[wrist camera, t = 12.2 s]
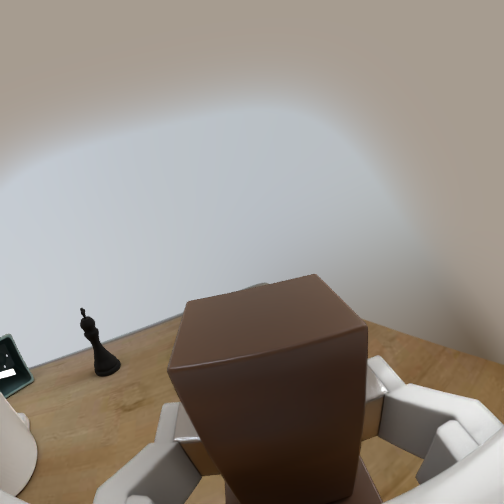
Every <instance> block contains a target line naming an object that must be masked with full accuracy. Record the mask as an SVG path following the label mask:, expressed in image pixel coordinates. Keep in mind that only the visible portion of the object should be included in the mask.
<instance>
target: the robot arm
mask: <svg viewBox="0 0 504 504" xmlns="http://www.w3.org/2000/svg"><path fill="white" fill-rule="evenodd" d="M11 375H15V372H14V370H13V369H10V370H7V371H3V372H0V378H3V377H7V376H11ZM29 428H30V422H29V419H28V418H27V416H26V415H25V414H24V413H16V412H15V411H14V409H13V408H12V407H11V405H10V404H9V403H8V402H7V400H6V399H5V397H4V396H3V395H2V393H1V392H0V504H29V503H27V502H25V501H22V500H20V499H18V498H16V497H15V496H16V495H17V494H18V493H19V492H20V491H21V490H22V489H23V488H24V487H25V485H26V484H27V483H28V481H29V479H30V478H31V476H32V474H33V471H34V468H35V465H36V461H37V445H36V441H35V439H34V437H33V436H32V434H31V432H30V430H29ZM375 436H378V437H380V438H382V439H384V440H386V441H388V442H390V443H391V444H393V445H395V446H397V447H399V448H401V449H403V450H405V451H407V452H409V453H411V454H414V455H416V456H418V457H420V458H422V459H424V461H423V463H422V465H421V467H420V469H419V471H418V473H417V475H416V479H417V481H418V483H419V484H420V485H419V486H417V487H415V488H413V489H411V490H410V491H408V492H406V493H404V494H402V495H399V496H397V497H395V498H393V499H391V500H389V501H386V502H384V503H382V504H504V425H503V424H502V423H501V422H500V421H499V420H498V419H497V418H496V417H495V416H494V415H493V414H492V413H491V412H490V411H489V410H488V409H487V408H486V407H485V406H484V405H483V404H482V403H481V402H480V401H479V400H476V399H471V398H467V397H462V396H458V395H454V394H449V393H445V392H441V391H437V390H434V389H430V388H426V387H422V386H419V385H415V384H411V383H410V384H408V385H406V384H405V383H404V382H403V381H402V380H401V379H400V377H399V376H398V375H397V374H396V373H395V372H394V371H393V370H392V368H391V367H390V366H389V365H388V364H387V363H386V362H385V361H384V359H383V358H382V357H381V356H378V355H377V356H375V357H372V358H370V359H368V364H367V387H366V402H365V414H364V424H363V433H362V441H364V440H367V439H370V438H372V437H375ZM219 474H220V472H219V471H218V469H217V467H216V466H215V464H214V462H213V461H212V459H211V457H210V456H209V454H208V452H207V450H206V449H205V447H204V445H203V443H202V441H201V440H200V438H199V436H198V434H197V432H196V430H195V429H194V427H193V425H192V423H191V421H190V419H189V417H188V415H187V413H186V411H185V409H184V407H183V405H182V403H181V402H176V403H165V404H164V405H163V406H162V410H161V414H160V419H159V423H158V428H157V432H156V437H155V441H154V443H149V444H148V445H147V446H146V447H145V448H144V449H142V450H141V451H140V452H139V453H138V454H137V455H136V456H135V457H134V458H132V459H131V460H130V461H129V462H128V463H127V464H126V465H125V466H123V467H122V468H121V469H120V470H119V471H118V472H116V473H115V474H114V475H113V476H112V477H111V478H109V479H108V480H107V481H106V482H105V483H103V484H102V485H101V486H100V487H99V488H97V491H96V494H95V498H94V501H93V504H184V503H185V501H186V500H187V499H188V497H189V496H190V494H191V493H192V492H193V490H194V489H195V487H196V486H197V484H198V483H199V481H200V480H201V479H202V477H201V476H210V475H219Z"/></svg>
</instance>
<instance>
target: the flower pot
mask: <svg viewBox="0 0 504 504" xmlns="http://www.w3.org/2000/svg"><path fill="white" fill-rule="evenodd" d="M6 354H7V355H8V357H6ZM4 365H5V366H6V368H4ZM10 369H13V370H14V372H15V375H11V376H7V377H3V378H0V392H1V393H2V395H3V396H4V397H5V399H6V398H7V397H9V396H10V395H12V394H13V393H15V392H16V391H18V390H20V389H21V388H23V387H25V386H26V385H28V384H30V383H32V382H33V381H34V377H33V376H32V374H31V372H30V371H29V369H28V367H27V366H26V364H25V362H24V360H23V358H22V356H21V355H20V352H19V350H18V348H17V346H16V344H15V342H14V340H13V338H12V336H11V334H6V335H4V336H2V337H0V372H3V371H7V370H10Z"/></svg>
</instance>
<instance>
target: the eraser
mask: <svg viewBox="0 0 504 504" xmlns="http://www.w3.org/2000/svg"><path fill="white" fill-rule="evenodd" d="M367 364H368V326H367V324H366V323H365V322H364V321H363V320H362V319H361V318H360V317H359V316H358V315H357V314H356V313H355V312H354V311H353V310H352V309H351V308H350V307H349V306H348V305H347V304H346V303H345V302H344V301H343V300H342V299H341V298H340V297H339V296H338V295H337V294H336V293H335V292H334V291H333V290H332V289H331V288H330V287H329V286H328V285H327V284H326V283H325V282H324V281H323V280H321V278H320V277H319V276H317V274H311V275H307V276H303V277H299V278H295V279H291V280H286V281H282V282H277V283H273V284H268V285H264V286H259V287H255V288H250V289H245V290H241V291H236V292H231V293H227V294H222V295H217V296H212V297H208V298H203V299H197V300H192V301H189V302H187V304H186V307H185V310H184V313H183V316H182V320H181V323H180V326H179V330H178V333H177V337H176V340H175V343H174V347H173V350H172V354H171V358H170V361H169V365H168V368H167V372H168V375H169V377H170V379H171V381H172V384H173V386H174V388H175V390H176V392H177V395H178V397H179V399H180V401H181V403H182V405H183V407H184V409H185V411H186V413H187V415H188V417H189V419H190V421H191V423H192V425H193V427H194V429H195V430H196V432H197V434H198V436H199V438H200V440H201V441H202V443H203V445H204V447H205V449H206V450H207V452H208V454H209V456H210V457H211V459H212V461H213V462H214V464H215V466H216V467H217V469H218V471H219V472H220V474H221V475H222V477H223V479H224V480H225V497H226V504H382V503H383V501H382V499H381V497H380V495H379V493H378V491H377V489H376V487H375V485H374V483H373V481H372V479H371V477H370V475H369V473H368V471H367V468H366V466H365V464H364V462H363V460H362V458H361V456H360V449H361V442H362V433H363V424H364V414H365V402H366V387H367Z"/></svg>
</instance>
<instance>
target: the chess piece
mask: <svg viewBox="0 0 504 504" xmlns="http://www.w3.org/2000/svg"><path fill="white" fill-rule="evenodd" d="M80 310H81V314H82V315H83V317H84V318H82V319H81V323H80V326H81V328H82V329H83V330H84V332H85V333H84V336H85V337H86V338H87V339H88V340H89V341H90V342H91V344H92V346H93V349H94V360H95V361H94V367H95V373H96V374H97V375H98V376H108V375H111V374H113V373H114V372H116V371H117V370H118V369H119V368H120V365H121V363H120V361H119V360H118V359H117V358H116V357H115V356H114V355H112V354H111V353H110V352H109V351H107V350H106V349H105V348H104V347H103V346H102V344H101V343H100V341H99V336H98V335H99V331H98V329H97V328H96V327H95V321H94V320H93V319H92V318H91V317H86V315H85V309H83V308H81V309H80Z"/></svg>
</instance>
